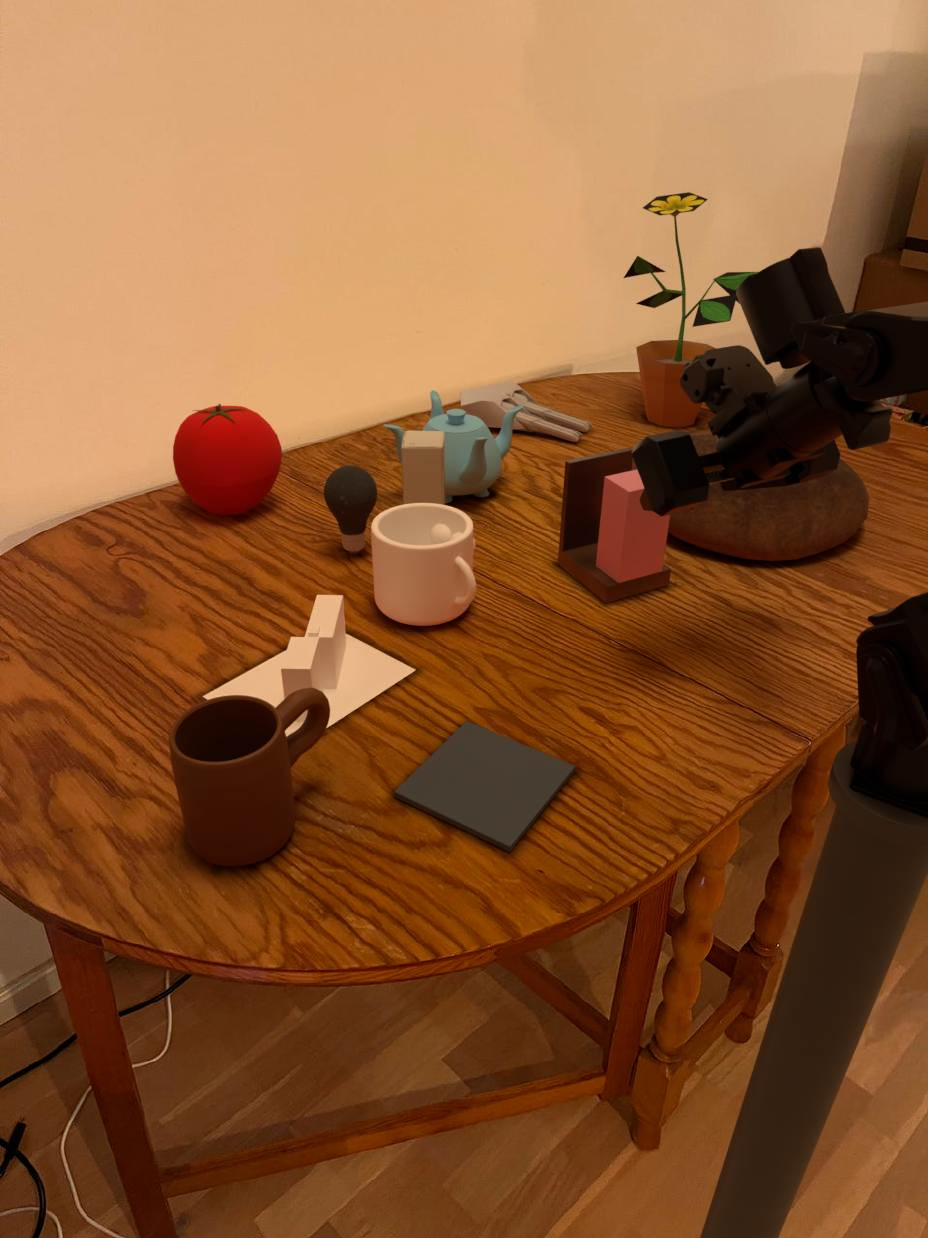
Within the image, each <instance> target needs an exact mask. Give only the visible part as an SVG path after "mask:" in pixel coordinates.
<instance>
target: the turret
mask: <svg viewBox="0 0 928 1238" xmlns="http://www.w3.org/2000/svg"><path fill="white" fill-rule="evenodd" d="M459 395H460V409H461V410H464V411H465V412H466V414H468V415H473V416H476V417H478V418H480V419H481V420H482V421H483V422H484V423H485V424H486V426H487V427H488V428H495V429H496V428H498V429H501V428H502V422H503V418H504V416H505V414H506V413H507V411H508V410H510V409H511V408H513V407H516V406H519V405H524V407H523V408H522V409H521V410H520V411H519V412H518V413H517V414H516V416H515V418H514V421H513V427H512V431H521V432H528V433H529V432H530V433H534V431H537V432H539V433H543V434H548V435H551V436H555V437H557V438H560V439H563V440H565V441H569V442H571V443H573V442H574V443H575V442H577V443H578V442H579V440H580V439H583V437H584V436H583V434H582V433H581V432H583V433H585V432H586V433H588V432H590V431H589V430H590V429H593V426H594V425H593V424H592V422H591V423H590V422H589V421H588V420H586V419H582V418H579V417H577V416H573V415H570V414H568V413H564V412H561V411H559V410H555V409H554V408H552V407H549V406H547V405H542V404H541V403H539V402H537V400H535V398H533V397H532V396H531V395H530V394H529V393H528V392H527V391H526V390H524V389H523V388H522V387H521V386H520V385H519V384H518V383H516V382H513V381H511V380H506V381H501V382H497V383H490V384H486V385H481V386H480V385H479V386H476V387H470V388H466V389H461V390H460V392H459ZM533 430H534V431H533Z"/></svg>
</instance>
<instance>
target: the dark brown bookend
mask: <svg viewBox="0 0 928 1238" xmlns="http://www.w3.org/2000/svg"><path fill="white" fill-rule="evenodd" d="M633 449H634V448H631V447H625V448H621V449H615V450H611V451H607V452H606V451H605V452H601V453H597V454H591V455H587V456H582V457H576V458H572V459H568V460H565V461H564V462H565V463H564V474H563V475H564V476H563V487H562V500H561V501H562V502H561V513H560V514H561V515H560V526H559V527H560V528H559V540H558V555H557V566H559V568H561V569H562V570H563V571H565V572H566V573H567V574H569V575H570V576H571V577H572V578H573V579H574V580H576V581H577V582H578V583H579V584H581V585H582V586H583V587H585V588H586V589H587V590H588V591H590V592H591V593H592V594H593V595H595V596H596V597H597V598H598V599H600V600H601V601H602V602H603V603H604V604H608V603H612V602H617V601H619V600H622V599H623V600H624V599H626V598H630V597H634V596H636V595H637V596H638V595H639V594H644V593H647V592H651V591H654V590H657V589H661V588H665V587H669V586H670V580H671V573H672V568H671V567H669V566H668V565H667V564H665V563H663V567H662V571H661V572H657V573H654V574H650V575H647V576H643V577H639V578H636V579H632V580H629V581H625V582H621V583H617V582H616V581H615V580H613V579H612V578H611V577H609V576H608V575H607V574H605V573H604V572H603V571H602V570H600V569H599V568H598V567H596V558H597V548H598V538H599V529H600V519H601V509H602V499H603V489H604V479H605V476H610V475H614V474H619V473H623V472H628V471H632V462H633V457H632V454H631V453H632V451H633Z"/></svg>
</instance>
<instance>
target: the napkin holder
mask: <svg viewBox="0 0 928 1238" xmlns="http://www.w3.org/2000/svg"><path fill="white" fill-rule="evenodd" d="M344 603H345V602H344V595H343V594H317V595H316V597H315V601H314V604H313V607H312V610H311V614H310V617H309V621H308V625H307V627H306V630H305V634H304V636H290V639H289V642H288V645H287V648H286V650H283V651H282V652H280V653H278V654H276V655H275V656H273V657H271V658H269V659H267V660H266V661H264V662H262V663H260V664H259V665H256V666H255V667H252V668H251V669H249V670H247V671H245V672H244V673H242V674H240V675H239V676H236V677H235V678H233V679H231V680H230V681H227V682H226V683H224V684H222V685H221V686H218V687H217V688H215V689H213V690H212V691H209V692H208V693H206V694H204V695H202V698H204V699H205V700H209V699H212V698H216V697H221V696H229V695H245V696H252V697H256V698H259V699H262V700H264V701H266V702H268V703H270V704H271V705H273V706H274V707H275V708H276V707H277V706H278V705H279V704H280V703H281V702H282V701H283V700H284V699H285V698H286V697H287V696H288V695H289V694H291V693H293V692H295V691H297V690H300V689H304V688H312V687H313V688H315V689H318V690H320V691H322V692H323V693H324V694H325V696H326V697H327V699H328V701H329V705H330V718H329V722H328V725H327V727H326V729H327V728H329V727H331V726H332V725H334V724H335V723H337V722H339V721H340V720H342V719H343V718H345V717H346V716H348V715H349V714H351V713H353V712H354V711H355V710H357V709H359V708H360V707H362V706H364V705H365V704H366V703H367V702H369V701H371V700H372V699H374V698H375V697H377V696H378V695H380V694H381V693H383V692H385V691H386V690H388V689H389V688H391V687H392V686H394V685H395V684H397V683H398V682H400V681H402V680H403V679H404V678H406V677H407V676H409V675H411V674H412V673H414V672H415V671H416V668H413V667H411V666H409V665H408V664H405V663H404V662H402V661H400V660H398V659H396V658H394V657H392V656H391V655H388V654H387V653H385V652H382V651H381V650H379V649H377V648H374V647H373V646H371V645H369V644H367V643H365V642H364V641H361V640H359V639H357V637H354V636H352V635H350V634H348V633H346V632H347V631H346V619H345V604H344ZM307 713H308V710H306V711H305V712H304V713H303V714H302V715H301V716H300V717H299V718H297V719H296V720H295V721H294V722H293V723H292V724H291V725H290V726H289V727H288V728H287V729H286V730H285V734H286V737H287V736H288V735H290V734H291V733H293V732H295V731H296V730H298V729H299V728H300V727H301V726H302V724H303V723H304V721H305V719H306V716H307Z"/></svg>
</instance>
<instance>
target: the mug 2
mask: <svg viewBox="0 0 928 1238" xmlns="http://www.w3.org/2000/svg"><path fill="white" fill-rule="evenodd" d="M474 535H475V534H474V522H473V520H472V518H471V517H470V516H469V515H468V514H467V513H465V512H464V511H462V510H460V509H459V508H456V507H453V506H450V505H446V504H445V505H442V504H435V503H411V504H404V505H403V504H399V505H396V506H393V507H390V508H388V509H385V510H383V511H381V512H380V513H378V514H377V515H376V516H375V517H374V518H373V520H372V521H371V525H370V539H371V560H372V580H373V581H372V582H373V595H374V601H375V604H376V606H377V608H378V610H379V611H380V612H381V613H382V614H383V615H385V616H386V617H388V618H389V619H391V620H393V621H395V622H398V623H401V624H404V625H409V626H415V627H418V626H419V627H427V626H429V627H430V626H436V625H437V626H438V625H442V624H444V623H448V622H450V621H453V620H454V619H457V618H458V617H460V616H461V615H463V613H465V611H467V609H468V608H469V606H470V604H471V603H472V602H473V601H474V600H475V597H476V594H477V582H476V578H475V575H474V554H475V550H476V539H475V538H474Z"/></svg>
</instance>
